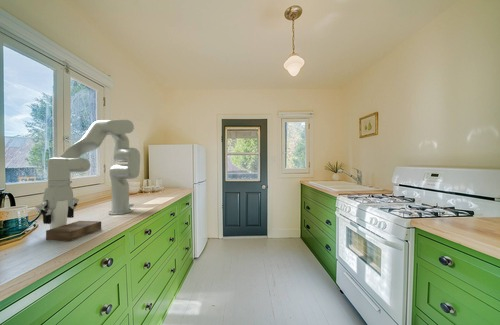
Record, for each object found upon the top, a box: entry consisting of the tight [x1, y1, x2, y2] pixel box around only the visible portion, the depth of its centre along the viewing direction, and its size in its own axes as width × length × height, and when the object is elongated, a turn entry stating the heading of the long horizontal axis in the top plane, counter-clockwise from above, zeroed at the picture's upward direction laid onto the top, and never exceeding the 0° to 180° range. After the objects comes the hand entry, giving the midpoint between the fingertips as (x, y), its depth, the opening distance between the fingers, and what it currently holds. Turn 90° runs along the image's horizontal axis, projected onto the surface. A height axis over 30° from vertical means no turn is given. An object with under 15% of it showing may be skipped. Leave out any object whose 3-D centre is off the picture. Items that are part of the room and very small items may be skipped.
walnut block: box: [45, 220, 102, 242], centre depth 87 cm, size 14×12×4 cm
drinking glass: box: [48, 200, 68, 230], centre depth 90 cm, size 7×7×15 cm
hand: (59, 220), depth 91 cm, fingers open, 9 cm apart
